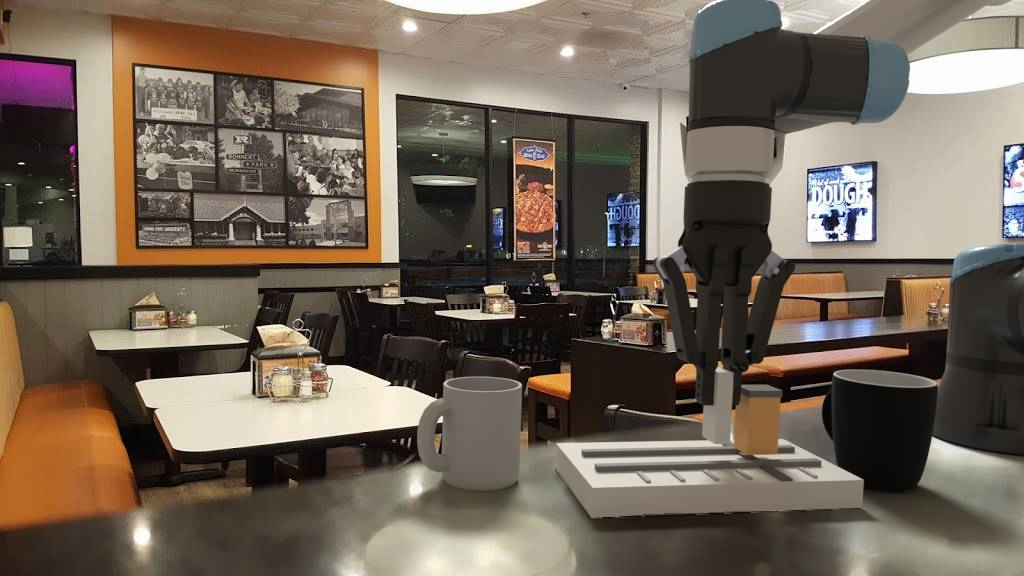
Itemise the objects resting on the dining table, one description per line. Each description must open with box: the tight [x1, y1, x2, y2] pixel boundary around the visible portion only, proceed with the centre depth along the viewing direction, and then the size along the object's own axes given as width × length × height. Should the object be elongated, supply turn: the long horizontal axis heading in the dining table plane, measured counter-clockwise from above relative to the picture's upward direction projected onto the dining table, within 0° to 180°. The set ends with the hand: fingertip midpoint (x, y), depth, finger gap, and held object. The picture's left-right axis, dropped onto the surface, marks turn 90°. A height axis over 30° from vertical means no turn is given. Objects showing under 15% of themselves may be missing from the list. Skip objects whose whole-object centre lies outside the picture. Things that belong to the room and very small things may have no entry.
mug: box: [821, 369, 939, 494], centre depth 71 cm, size 12×9×10 cm
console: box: [554, 438, 864, 519], centre depth 67 cm, size 24×13×3 cm, turn 100°
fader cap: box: [733, 384, 783, 455], centre depth 68 cm, size 3×3×6 cm
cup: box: [416, 376, 523, 492], centre depth 67 cm, size 7×10×9 cm
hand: (715, 439), depth 67 cm, fingers closed
